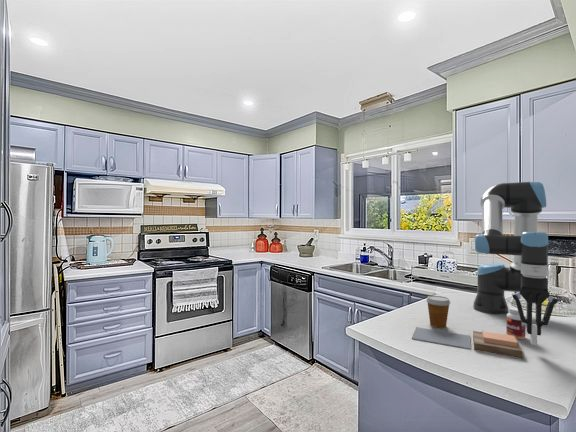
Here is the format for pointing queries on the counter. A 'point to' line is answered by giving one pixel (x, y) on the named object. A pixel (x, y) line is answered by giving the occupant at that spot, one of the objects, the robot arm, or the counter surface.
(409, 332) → the counter surface
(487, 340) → the card
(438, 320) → the disposable coffee cup
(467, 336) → the mat
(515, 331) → the pill bottle
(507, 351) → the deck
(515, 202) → the robot arm
